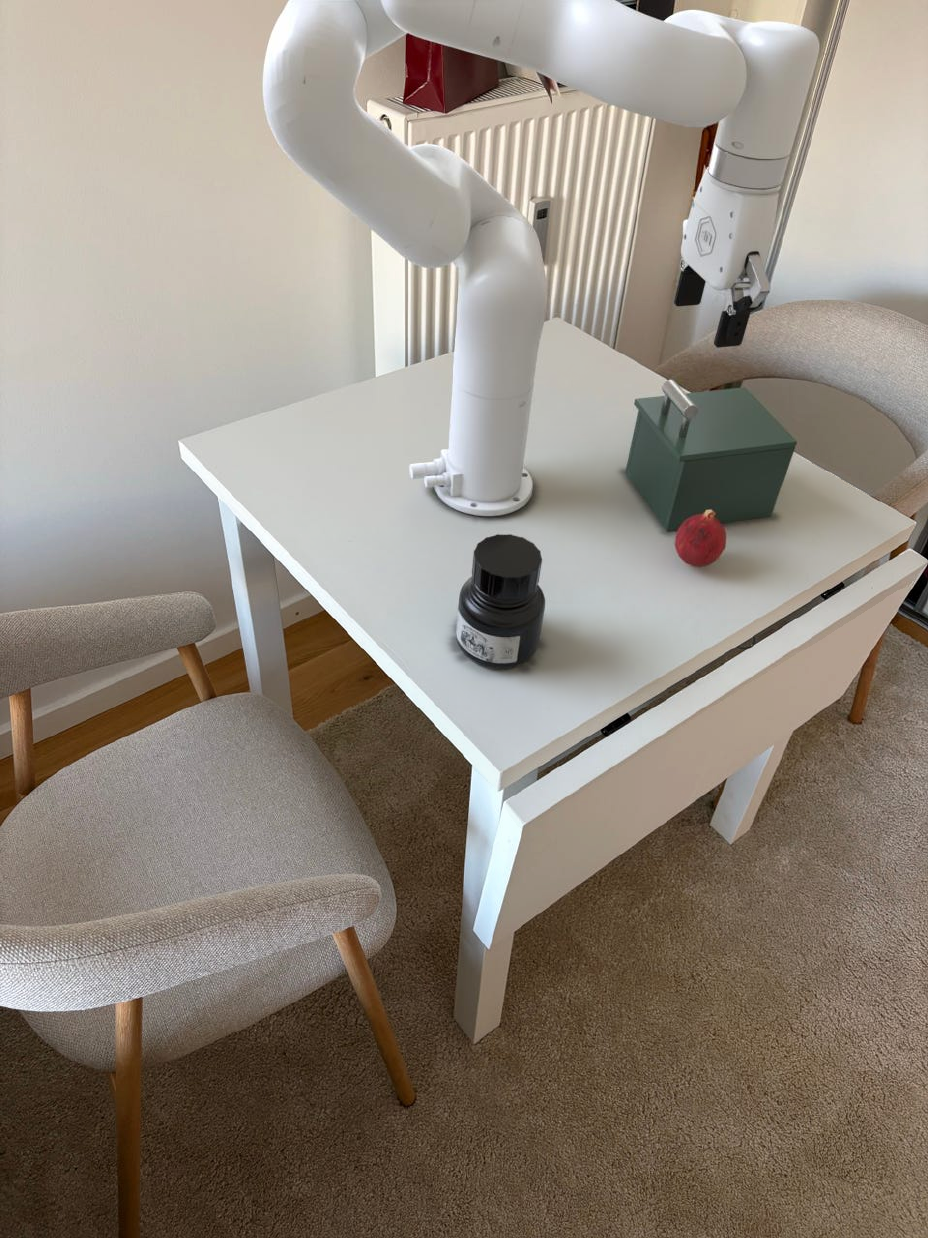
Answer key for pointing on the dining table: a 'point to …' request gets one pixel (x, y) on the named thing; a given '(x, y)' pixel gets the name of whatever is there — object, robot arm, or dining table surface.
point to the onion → (700, 539)
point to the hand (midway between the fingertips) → (706, 324)
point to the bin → (704, 480)
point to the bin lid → (712, 423)
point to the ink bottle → (501, 603)
